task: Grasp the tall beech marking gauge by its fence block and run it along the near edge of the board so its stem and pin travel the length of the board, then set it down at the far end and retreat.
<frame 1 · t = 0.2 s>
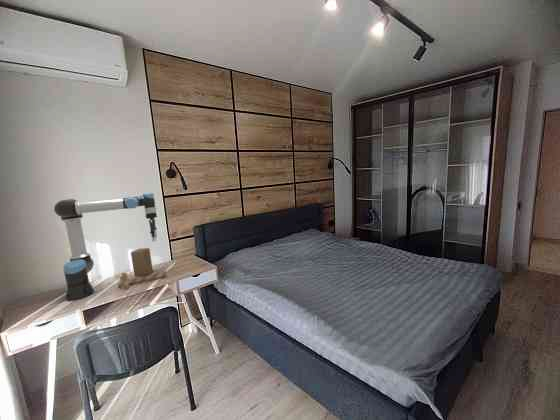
hand: (154, 239, 200), 28 cm above the table, fingers open, 13 cm apart
gauge: (125, 288, 178), on the table
board: (143, 280, 190), on the table
wooden block: (143, 274, 205), on the table
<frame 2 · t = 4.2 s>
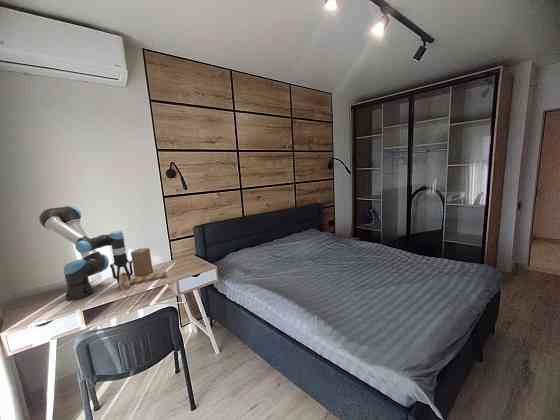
hand: (125, 286, 178), 2 cm above the table, fingers closed on gauge, 4 cm apart
gauge: (125, 288, 178), on the table, touching gripper
everything else where it was.
when the fingers open (2 cm above the table, at t = 10.4 s): gauge stays where it is, on the table.
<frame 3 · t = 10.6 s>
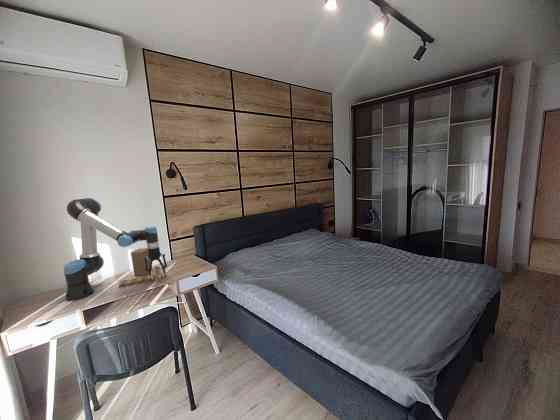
hand: (158, 278, 186), 2 cm above the table, fingers open, 7 cm apart
gauge: (158, 281, 187), on the table
everything else where it was.
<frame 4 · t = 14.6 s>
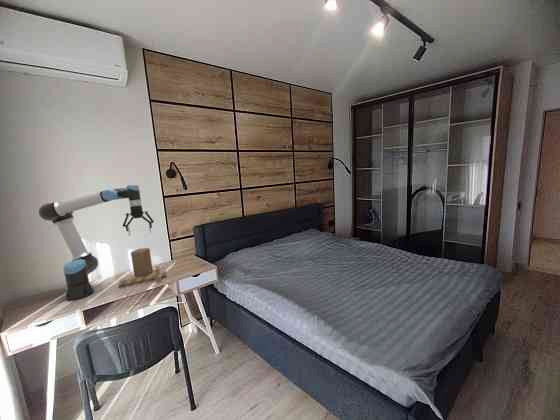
hand: (140, 234, 189), 35 cm above the table, fingers open, 13 cm apart
nothing on the table moved.
at the end: gauge moved 20.9 cm from its start; gauge inside the target area (0.5 cm from its centre), on the table; gauge tilted 0° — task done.
